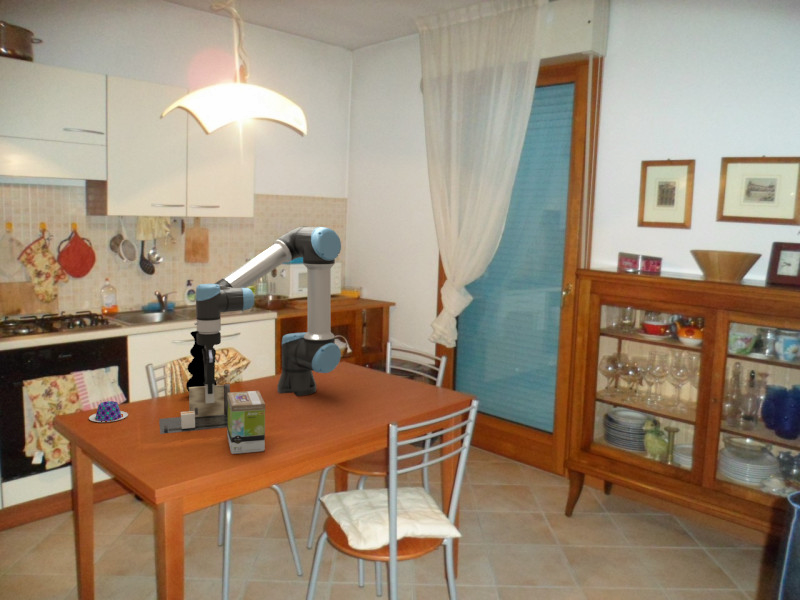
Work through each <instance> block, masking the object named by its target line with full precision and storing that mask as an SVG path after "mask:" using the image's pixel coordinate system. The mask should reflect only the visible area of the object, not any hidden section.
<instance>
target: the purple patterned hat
mask: <svg viewBox="0 0 800 600" xmlns="http://www.w3.org/2000/svg"><path fill="white" fill-rule="evenodd" d="M121 414H123V417H122V415H121ZM128 416H129V412H126V411H122V410H120V406H119V404H118V402H117V401H112V400H109V401H103V402H100V403H99V404H98V406H97V409H96V413H94V414H91V415H90V416H89V417H88V420H90V421H92V422H97V423H102V422H105V421H107V422H106V423H110V422H112V421H113V422H117V421H120V420H123V419H124V418H125V419H126V418H127V417H128ZM118 418H119V419H118ZM110 420H111V421H110ZM101 421H102V422H101Z"/></svg>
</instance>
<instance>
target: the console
mask: <svg viewBox="0 0 800 600" xmlns="http://www.w3.org/2000/svg"><path fill="white" fill-rule="evenodd" d="M158 422H159V433H160V434H161V435H164V434H173V433H184V432H193V431H195V432H196V431H203V430H204V431H205V430H215V429H224V428H226V429H227V415H225V414H224V415H214V416H203V417H195V428H186V429H182V428H181V416H179V417H178V416H177V417H167V418H166V417H165V418H159V421H158Z"/></svg>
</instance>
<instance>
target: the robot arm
mask: <svg viewBox="0 0 800 600" xmlns="http://www.w3.org/2000/svg"><path fill="white" fill-rule="evenodd" d="M341 250H342V241H341V238H340V236H339V234H338V233H337V232H336V231H335V230H333V229H332V228H328V227H325V226H308V225H307V226H304V225H303V226H298V227H295V228H294V229H292V230H290V231H288V232H286V233H284V234H283V235H280V237H278V238H277V239H275V240H274V241H273V243H272V245H271V246H270V247H268V248H266V249H265V250H264V251H262V252H260V253H259V254H257V255H256V256H253V258H251V259H250V260H249V261H246V262H245V263H244V264H242V265H241V266H239V267H238V268H236V269H234V270H233V271H232V272H231V271H230V273H227V275H226V276H224V277H222V278H221V279H219V280H218V281H216V282H215V283H200V284H198V285H196V288H195V299H194V300H195V310H196V311H195V313H196V315H195V316H196V319H195V320H196V321H195V322H194V326H196V331H198V333H197V344H198V345H202V346H203V345H204V349H202V354H203V361H204V379H205V382H204V385H205V403H214V383H215V380H216V378H215V375H216V374H215V373H216V368H215V367H216V355H217V350H216V348H214V346H218V345H220V344H221V342H222V340H221V339H222V338H221V337H222V336H221V335H222V334H221V331H222V327H221V325H222V323H221V321H222V319H221V316H222V315H221V313H229V312H240V311H242V312H244V311H247V310H248V311H249V310H250V309H252V308H253V306H254V304H255V294H254V292H253V290H252V289H251V288H249V287H250V286H251V285H253V284H254V283H256V282H257V281H259V280H260V279H262V278H263V277H265V276H266V275H268V274H269V273H270V272H272V271H274V270H275V269H277V268H278V267H279V266H281V265H282V264H285V263H290V262H291V261H294V260H295V259H299V258H302V264H303V266H305V268H306V270H307V272H306V274H307V276H306V279H307V284H306V285H307V287H306V288H307V289H306V290H307V293H306V294H307V295H306V296H307V298H306V299H307V332H304V331H303V332H294V333H293V332H292V333H287V334H284V335H283V336H282V339H281V373H280V374H281V375H280V377H279V380H278V383H277V392H278V393H279V394H294V395H295V396H296V397H298V396H307V395H312V394H314V393H316V391H317V384H316V380H315V376H314V375H313V372H316V373H320V374H327V373H331V372H333V370H335V369H336V368H337V366H338V365H339V363H340V361H341V357H342V353H341V352H342V351H341V349H340V347H339V346H338V344H336V343H335V342H336V338H335V337H336V336H335V334H334V333H333V332H332V331H331V330H332V329H331V327H332V325H331V323H332V322H331V320H332V319H331V318H332V317H331V316H332V315H331V313H332V312H331V303H332V302H331V297H332V296H331V295H332V294H331V287H332V285H331V282H332V281H331V277H332V276H331V272H332V271H331V269H332V267H333V266H335V264H336V262H335V261H336V259H337V258H338V257H339V255H340V253H341Z"/></svg>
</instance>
